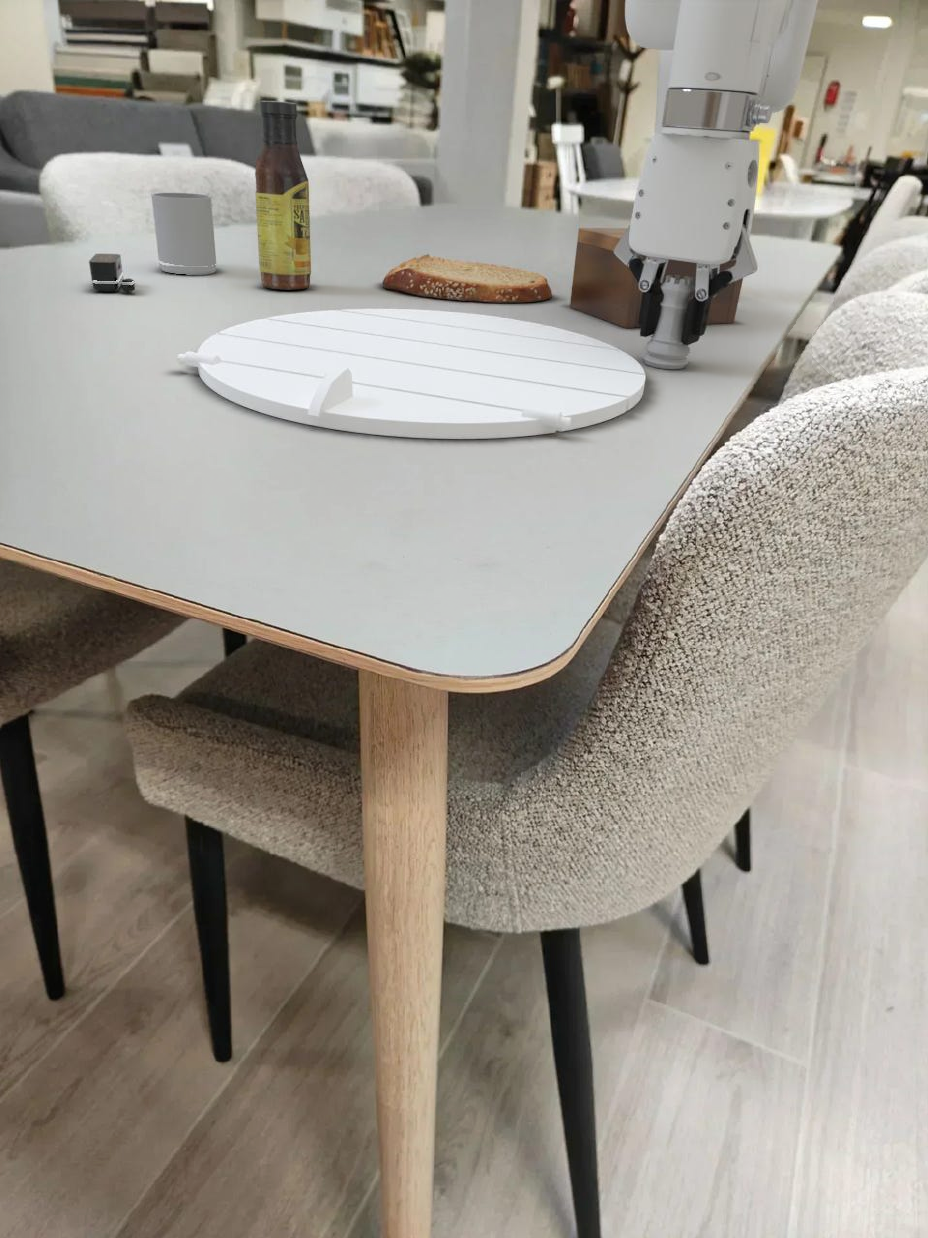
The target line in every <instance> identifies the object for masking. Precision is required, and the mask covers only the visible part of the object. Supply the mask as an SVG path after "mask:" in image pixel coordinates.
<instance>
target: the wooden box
mask: <svg viewBox="0 0 928 1238" xmlns="http://www.w3.org/2000/svg"><path fill="white" fill-rule="evenodd" d="M627 229H628V227H627V228H623V227H622V228H620V227H619V228H617V227H616V228H614V227H613V228H612V227H611V228H610V227H609V228H607V227H606V228H605V227H601V228H600V227H579V228H578V233H577V234H578V235H577V240H576V251H575V256H574V266H573V276H572V284H571V291H570V292H571V293H570V300H569V301H570V302H569V308H572V309H574V310H577V311H580V312H582V313H585V314H587V315H590V316H593V317H596V318H598V319H600V320H603V321H606V322H608V323H611V324H613V325H617V326H619V327H621V328H624V329H633V328H641V325H639V323H638V319H639V313H640V306H641V300H642V294H643V292H642V291H641V290H640V289H639V283H638V282H637V280H636V278H635V277H634V275H633V274H632V272H631V270H630V268H629V267H628V266H627V265H625V264H624V263H623V262H622V261H621V260H620V259H619V258H618V257H617V256H616V255H615V254H614V248H615V246H616V245H617V243H618V242H619V240H620V239H621V237H622V236H623V234H624V233H625V232H626V230H627ZM640 255H641V254H640ZM641 256H642V257H644V258H646V257H647V256H645V255H641ZM735 264H736V260H735V261H728V262H726V263H723V264H720V269H719V273H720V272H722V271H724V270H727V269H729V268H731V267H733V266H734V265H735ZM696 267H697V263H693V262H685V261H678V260H671V259H669V261H668V264H667V267H666V271H665V274H664V277H663V281H662V284H663V283H664V282H665V280H666V276H667V275H672V278H674V276H675V275H680V278H679V280H680V279H683V278H684V276H689V279H690V277H691V278H694V280H693V285H694V287H695V286H696ZM743 281H744V278H741V279H739V280H737V281H734V282H732V283H731V284H730V285H728V286H727V287H726V288H724V289H723V290H722V291H721V292H719V293H718V294H717V295H716V296H715V297H713V298H712V299H711V305H710V310H709V315H708V320H707V325H715V324H734V323H735V319H736V314H737V310H738V305H739V301H740V295H741V292H742V291H741V290H742V286H743ZM693 296H694V293H693V294H692V295H691V296H690V298H689V300H691V299H693Z"/></svg>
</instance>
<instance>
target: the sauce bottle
mask: <svg viewBox="0 0 928 1238" xmlns="http://www.w3.org/2000/svg"><path fill="white" fill-rule="evenodd" d="M260 115H261V118H262V128H263V129H262V130H263V138H262V142H263V145H264V146H263V148H262V151H261V154H260V155H259V156H258V158H257V161H256V164H255V172H254V176H255V188H256V190H255V210H256V211H255V212H256V228H257V229H256V231H257V246H258V248H257V249H258V263H259V264H258V265H259V271H260V277H261V278H260V282H261V285H262V286H264V287H265V288H267V289H272V290H285V291H292V290H302V289H307V288H309V287H310V285H311V274H312V262H311V261H312V255H311V253H312V252H311V250H312V249H311V217H310V183H309V178H308V175H307V173H306V170H305V167H304V164H303V161H302V158H301V154H300V152H299V151H300V150H299V147H298V140H297V125H296V124H297V123H296V122H297V118H298V110H297V103H295V102H290V101H280V100H279V101H278V100H261V101H260Z"/></svg>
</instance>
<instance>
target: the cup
mask: <svg viewBox="0 0 928 1238" xmlns="http://www.w3.org/2000/svg"><path fill="white" fill-rule="evenodd" d="M150 196H151V203H152V204H151V205H152V213H153V222H154V231H155V239H156V247H157V256H158V261H159V260H160V261H162V262H164V263H169V264H174V265H183V266H208V267H173V266H166V265H162V264H160V263H159V262H158V264H159V268H160V270H161V269H162V270H164V271H167V272H171V273H177V274H186V275H185V276H205V275H206V276H207V275H211V274H214V273H215V272H216V271H217V255H216V254H217V253H216V241H215V230H214V218H213V217H214V216H213V206H212V205H213V204H212V196H211V195H207V194H199V193H190V192H189V193H188V192H156V193H151V195H150ZM215 264H216V265H215ZM212 265H213V266H212ZM162 270H161V271H162Z"/></svg>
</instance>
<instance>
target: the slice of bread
mask: <svg viewBox="0 0 928 1238" xmlns="http://www.w3.org/2000/svg"><path fill="white" fill-rule="evenodd" d="M381 284H382V287H383V288H385V289H386V290H392V291H399V292H403V293H406V294H410V295H413V296H418V297H423V298H424V297H425V298H434V299H441V300H450V301H461V302H481V303H530V302H533V303H534V302H540V301H545V300H549V299H552V298H553V292H552V289H551V287H550V285H549V281H548V279H547V277H545V276H543V275H542V274H540V273H538V272H534V271H529V270H523V269H519V268H512V267H507V266H504V265H496V264H489V263H483V262H472V261H462V260H457V259H456V260H455V259H447V258H442V257H439V256H430V254H429V253H428V254H424V255H422V256H420V257H417V256H416V257H413V258H412V259H409V260H406V261H403V262H402V263H400V264H399V265H397V266H395V267H394V268H392V269H390V270H389V271H388V273H387V274H386V275H385V276H384V278H383V280H382V283H381Z"/></svg>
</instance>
